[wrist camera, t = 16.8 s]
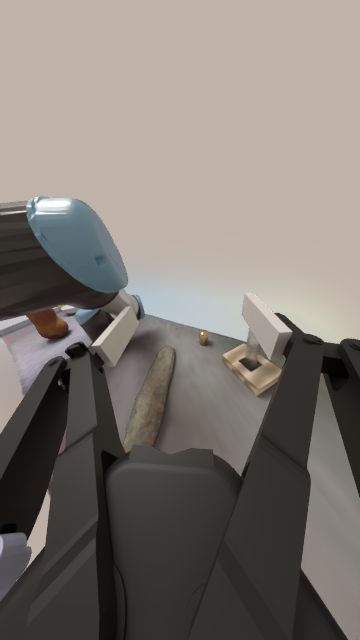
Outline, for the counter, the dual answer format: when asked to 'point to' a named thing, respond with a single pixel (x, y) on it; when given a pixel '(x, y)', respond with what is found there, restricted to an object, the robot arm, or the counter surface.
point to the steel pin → (251, 352)
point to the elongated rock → (150, 402)
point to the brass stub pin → (203, 337)
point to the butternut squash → (48, 324)
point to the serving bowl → (69, 309)
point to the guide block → (255, 379)
